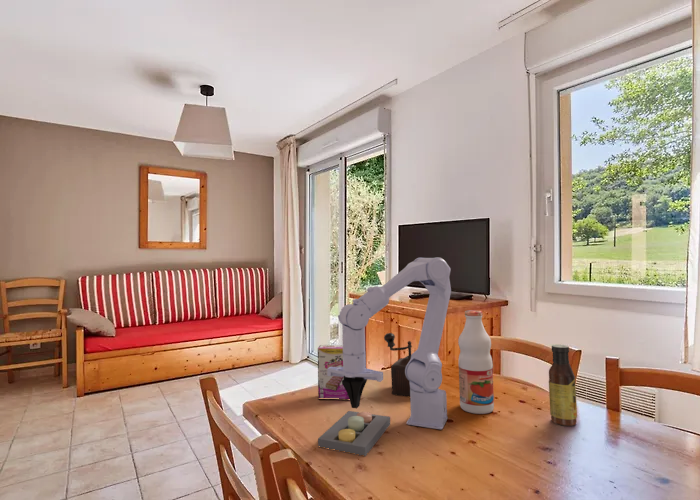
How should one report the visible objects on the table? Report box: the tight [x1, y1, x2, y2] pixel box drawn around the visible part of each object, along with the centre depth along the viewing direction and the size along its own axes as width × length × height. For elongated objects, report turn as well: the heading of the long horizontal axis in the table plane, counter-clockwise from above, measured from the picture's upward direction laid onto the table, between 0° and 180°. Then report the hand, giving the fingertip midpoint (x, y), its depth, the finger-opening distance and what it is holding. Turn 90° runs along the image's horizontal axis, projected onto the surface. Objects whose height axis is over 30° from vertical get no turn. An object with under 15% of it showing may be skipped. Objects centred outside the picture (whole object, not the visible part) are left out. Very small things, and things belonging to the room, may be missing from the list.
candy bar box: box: [317, 344, 349, 399], centre depth 127 cm, size 11×5×16 cm, turn 84°
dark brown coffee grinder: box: [383, 332, 413, 398], centre depth 133 cm, size 16×11×18 cm
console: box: [317, 410, 391, 457], centre depth 101 cm, size 12×18×2 cm, turn 156°
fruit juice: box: [457, 309, 495, 415], centre depth 116 cm, size 9×9×28 cm
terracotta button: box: [357, 411, 373, 423], centre depth 106 cm, size 4×4×2 cm
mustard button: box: [339, 429, 355, 443], centre depth 95 cm, size 4×4×2 cm
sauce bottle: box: [548, 344, 578, 427], centre depth 105 cm, size 7×6×20 cm
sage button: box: [348, 416, 364, 433], centre depth 101 cm, size 4×4×2 cm
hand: (355, 406), depth 101 cm, fingers closed
